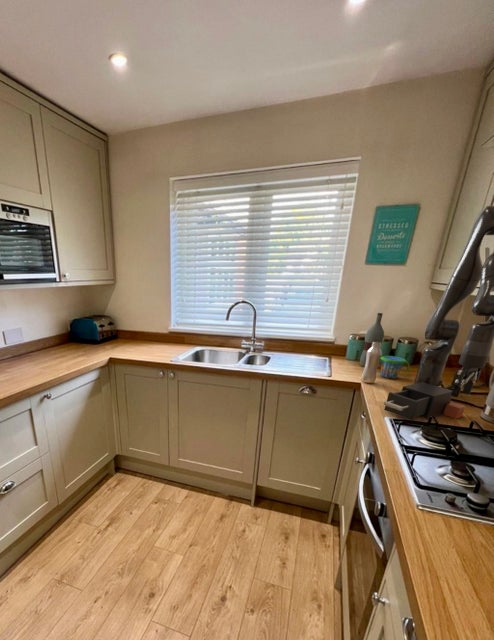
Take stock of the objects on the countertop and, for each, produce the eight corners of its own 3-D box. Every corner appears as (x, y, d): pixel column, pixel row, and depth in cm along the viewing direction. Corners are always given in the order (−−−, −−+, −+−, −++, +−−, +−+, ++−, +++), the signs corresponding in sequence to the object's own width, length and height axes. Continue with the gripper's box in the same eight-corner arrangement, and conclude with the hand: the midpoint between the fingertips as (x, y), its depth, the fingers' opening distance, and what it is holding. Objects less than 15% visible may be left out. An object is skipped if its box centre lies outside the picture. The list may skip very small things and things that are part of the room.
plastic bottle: (367, 384, 160) (377, 344, 153) (356, 380, 166) (366, 341, 159) (377, 384, 162) (388, 343, 154) (367, 379, 168) (377, 340, 161)
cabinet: (427, 418, 125) (434, 396, 122) (396, 407, 135) (403, 386, 131) (446, 412, 131) (454, 390, 128) (416, 402, 140) (422, 382, 137)
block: (449, 412, 131) (452, 402, 129) (461, 416, 127) (465, 406, 126) (443, 414, 129) (446, 404, 127) (455, 418, 125) (459, 408, 124)
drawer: (402, 423, 119) (408, 404, 116) (375, 412, 127) (380, 394, 124) (430, 414, 126) (436, 396, 124) (402, 404, 135) (407, 388, 132)
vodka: (371, 368, 187) (385, 314, 176) (355, 364, 194) (367, 312, 183) (379, 366, 192) (392, 313, 181) (363, 362, 199) (375, 311, 188)
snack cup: (404, 376, 175) (410, 358, 171) (407, 382, 166) (413, 362, 162) (371, 372, 181) (376, 354, 177) (372, 377, 172) (377, 358, 168)
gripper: (478, 357, 113) (462, 401, 119) (497, 353, 119) (481, 395, 125) (453, 352, 119) (439, 394, 125) (472, 349, 125) (458, 389, 131)
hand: (460, 394), depth 125 cm, fingers open, 8 cm apart
